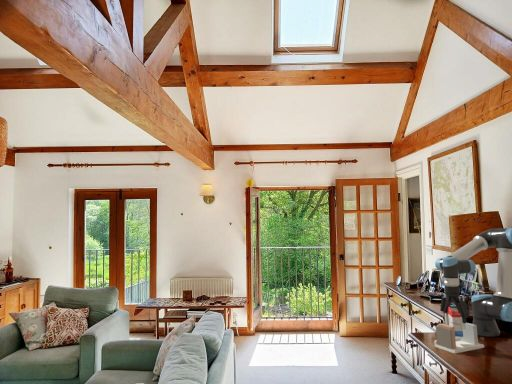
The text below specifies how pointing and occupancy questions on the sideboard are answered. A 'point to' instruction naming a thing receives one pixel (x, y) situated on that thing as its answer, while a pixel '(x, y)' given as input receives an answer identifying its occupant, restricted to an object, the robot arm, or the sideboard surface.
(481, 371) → the sideboard surface
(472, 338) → the bookend
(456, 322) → the ink box
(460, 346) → the rack
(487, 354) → the sideboard surface
